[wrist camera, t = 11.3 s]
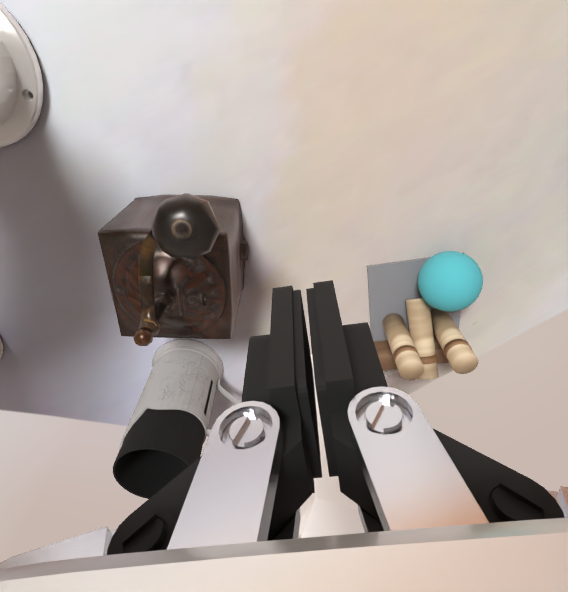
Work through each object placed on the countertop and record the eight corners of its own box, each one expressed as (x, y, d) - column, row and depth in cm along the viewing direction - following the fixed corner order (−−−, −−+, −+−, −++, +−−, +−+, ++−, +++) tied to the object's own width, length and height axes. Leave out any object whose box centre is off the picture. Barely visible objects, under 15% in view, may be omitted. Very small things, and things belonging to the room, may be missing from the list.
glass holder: (150, 335, 48) (100, 439, 35) (270, 348, 48) (265, 453, 36) (153, 390, 52) (110, 500, 39) (263, 400, 53) (256, 511, 40)
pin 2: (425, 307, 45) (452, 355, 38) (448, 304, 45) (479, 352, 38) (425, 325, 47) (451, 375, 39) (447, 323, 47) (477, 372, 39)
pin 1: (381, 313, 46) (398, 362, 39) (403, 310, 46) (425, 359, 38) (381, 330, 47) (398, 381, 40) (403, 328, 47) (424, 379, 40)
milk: (327, 398, 53) (351, 591, 34) (284, 384, 52) (284, 577, 33) (349, 365, 50) (388, 556, 31) (304, 350, 49) (317, 539, 30)
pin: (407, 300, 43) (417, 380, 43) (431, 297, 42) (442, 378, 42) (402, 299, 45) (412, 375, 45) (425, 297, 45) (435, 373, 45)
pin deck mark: (367, 265, 43) (367, 266, 43) (463, 252, 42) (464, 253, 42) (371, 340, 48) (371, 341, 48) (457, 330, 47) (458, 331, 47)
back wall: (371, 340, 48) (376, 357, 45) (448, 331, 47) (458, 347, 45) (372, 354, 49) (376, 370, 46) (448, 345, 48) (457, 361, 46)
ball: (429, 325, 43) (398, 277, 43) (474, 296, 43) (443, 250, 44) (456, 319, 37) (419, 263, 37) (508, 285, 37) (470, 232, 38)
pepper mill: (250, 290, 44) (231, 415, 29) (149, 288, 44) (76, 413, 29) (245, 141, 37) (216, 203, 21) (122, 139, 37) (3, 200, 21)
